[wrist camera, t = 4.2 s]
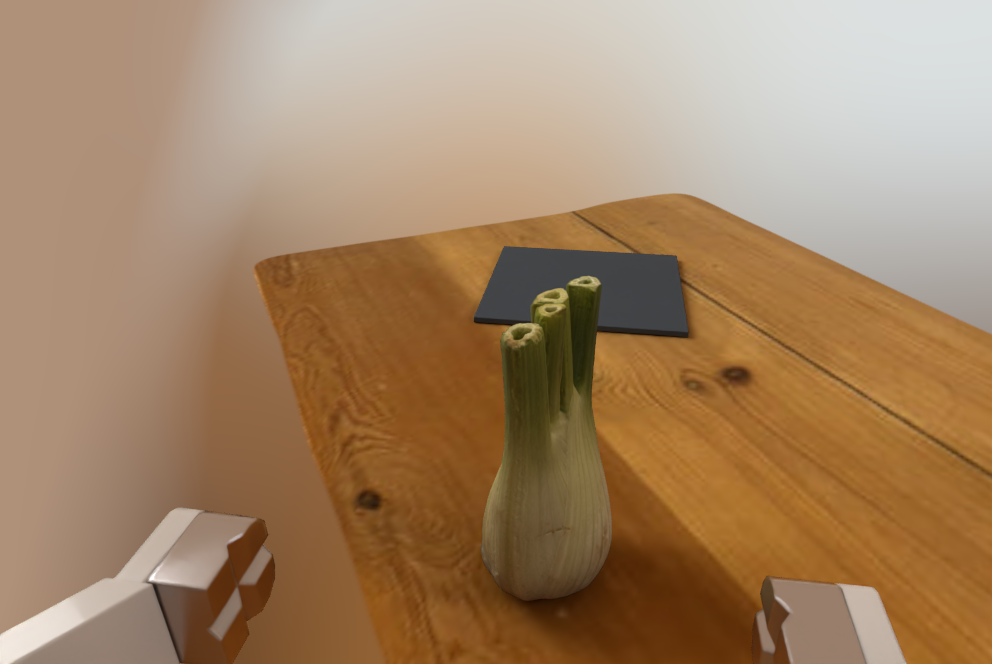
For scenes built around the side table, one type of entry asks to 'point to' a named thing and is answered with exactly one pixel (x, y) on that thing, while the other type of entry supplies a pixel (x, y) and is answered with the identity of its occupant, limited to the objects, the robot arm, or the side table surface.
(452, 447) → the side table surface
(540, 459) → the fennel bulb
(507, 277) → the mat
